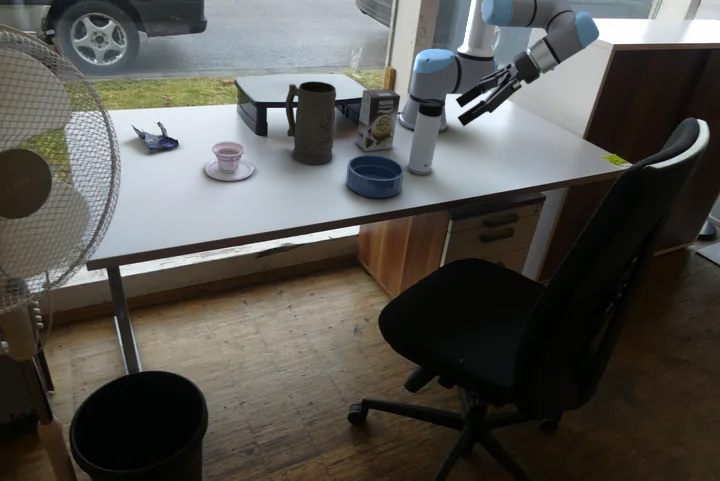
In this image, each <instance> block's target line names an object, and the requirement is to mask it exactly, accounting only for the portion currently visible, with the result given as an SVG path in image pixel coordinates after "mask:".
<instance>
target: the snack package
mask: <svg viewBox="0 0 720 481" xmlns="http://www.w3.org/2000/svg"><path fill="white" fill-rule="evenodd" d="M153 123H154V124H156V125H157V126H158V128H160V131H161V134H157V135H156V134H152V133H149V132H147V131H144V129H142V128H141V130H142V131H141V130H140V129H138V128H136V127H135V125H132V124H130V125H131V127H132V128H133V131H134V132H135V133H136V135H138V137H139V138H140V139H141V141H143V143H144V144H145V145H146V146H147V148H148V149H149V151H153V150H156V149H161V148H162V149H163V150H162V151H167V150H172V149H174V148H176V147H179V146H180V143H179V140H178V139H175V138H174V137H172V136H171V137H170V136H169V134H168V131H167V129H166V127H165V126H164V124H163V123H162V122H160V121H158V122H155V121H154V122H153ZM152 153H153V152H150V154H152Z"/></svg>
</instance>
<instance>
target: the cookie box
mask: <svg viewBox="0 0 720 481" xmlns="http://www.w3.org/2000/svg"><path fill="white" fill-rule="evenodd" d="M400 101H401V95H400V94H399V93H397V92H395V91H393V90H392V89H391V88H382V89H363V90H362V96H361V102H360V103H361V105H360V111H359V119H358V125H357V126H358V128H357V134H356V141H355V142H356V144H357V145H358V146H359V147H360V148H361V149H363V151H364V152H372V151H379V150H380V151H381V150H389V149H392V148H393V145H394V137H395V131H396V126H397V120H398V115H399V114H398V112H399V109H400V108H399V107H400Z"/></svg>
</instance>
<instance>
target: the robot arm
mask: <svg viewBox="0 0 720 481" xmlns="http://www.w3.org/2000/svg"><path fill="white" fill-rule="evenodd" d="M496 27H500V28H501V27H502V28H504V27H508V28H527V29H542V30H544V31H545V33H546V35H545V36H543V37H541V38H540V39H538V40H537V41H535V42H534V43H532V44H531V45H529V46H528V47H527V50H522V51H521V52H519V53H518V54H517V55H515V56H514V57H513V58H512V60H511V61H512V62H511V63H508V64H506V65H504V66H503V67H502V68H499V63H498V60H497V59H496V58H495V52H494V51H493V48H492V45H493V41H494V37H495V31H496ZM465 29H466V30H465V33H464V40H463V43H462V44H461V45H460V46H458V47H457V50H456V55H455V52H453V51H451V50H448V49H445V48H442V49H441V48H429V49H424V50H421V51H420V52H418V54H417V55H416V57H415V59H414V64H413V68H412V69H413V70H412V76H411V83H410V88H409V95H408V99H407V101H406V103H405V105H404V106H403V109H402V110H401V111H398V114H397V115H398V116H399V123H400V125H402V126H403V127H405V128H407V129H409V130H412V131H415V125H416V120H417V114H418V110H419V104H420V102H421V101H422V100H424V99H438V100H441V101H445V102H446V99H447V95H460V96H458V97H457V98H455V101H456V103H457V104H458V105H459V107H460V109H462V108H464V107H465V106H466V105H468V104H469V103H471V102H472V101H474V100H475V99H477V98H478V97H480V96H481V95H485V94H487V93H489V91H491V90H492V89H493V91H492V92H491V93H490V94H489V95H488V96H487V97H486V98H485V99H481V100H479V102H478V103H477V104H475V105H473V106H472V107H471V108H468V109H467V110H466V111H464V112H463V113H462V114H460V115H459V116H457V119H458V121H459V122H460V124H461V125H462V126H463V127H465V126H467V125H469V124H470V123H471V122H473V121H475V120H476V119H477V118H479V117H481V116H482V115H484V114H485V113H489V114H492V113H494V111H496V109H498V108H499V107H500V106H501V105H502V104H503V103H504V102H506V101H507V100H508V99H509V98H510V97H511V96H513V94H515V93H516V92H517V91H519V90H521V88H522V87H523V85H522V84H521V82H522V81H524V83H525V84H526V85H530V84H532V83H533V82H535V81H537V80H538V79H539V78H540V77H541V74H542V75H545V74H547V73H548V72H550V71H555V69H556V67H557V66H559V65H560V64H562V63H563V62H565V61H566V60H568V59H570V58H571V57H573V56H574V55H576V54H578V53H580V52H581V51H583V50H585V49H586V48H587V47H588V46H590V45H591V44H592V43H594V42H595V41H597V40H598V39H599V37H600V30H599V28H598V26H597V24H596V22H595V21H594V19H593V17H592V15H591V14H590V13H589V12H588V10H582V11H580V12H577V13H576V12H575V11H574V9H573V7H572V6H571V5H570V3H569V2H568V0H471V1H470V7H469V13H468V18H467V24H466V28H465ZM512 63H513V65H514V66H513V65H512ZM446 113H447V112H446V105H445V106H444V105H443V110H442V116H441V121H440V126H439V131H438V133H440V132H443V131H444V130H445V129H446V127H447V115H446Z"/></svg>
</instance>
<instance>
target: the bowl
mask: <svg viewBox="0 0 720 481" xmlns="http://www.w3.org/2000/svg"><path fill="white" fill-rule="evenodd" d="M404 174H405V168H404V166H403V165H402V164H401V163H399V162H398V161H397V160H395V159H393V158H390V157H387V156H383V155H377V154H362V155H357V156H354V157H352V158H350V159H349V160H348V163H347V169H346V176H345V178H346V179H345V183H346V185H347V187H349V189H350V190H352V191H354V192H355V193H356V194H358V195H361V196H362V197H363V196H364V197H367V198H371V199H385V198H389V197H393V196H395V195H398V193H400V191H402V186H403V180H404Z"/></svg>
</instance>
